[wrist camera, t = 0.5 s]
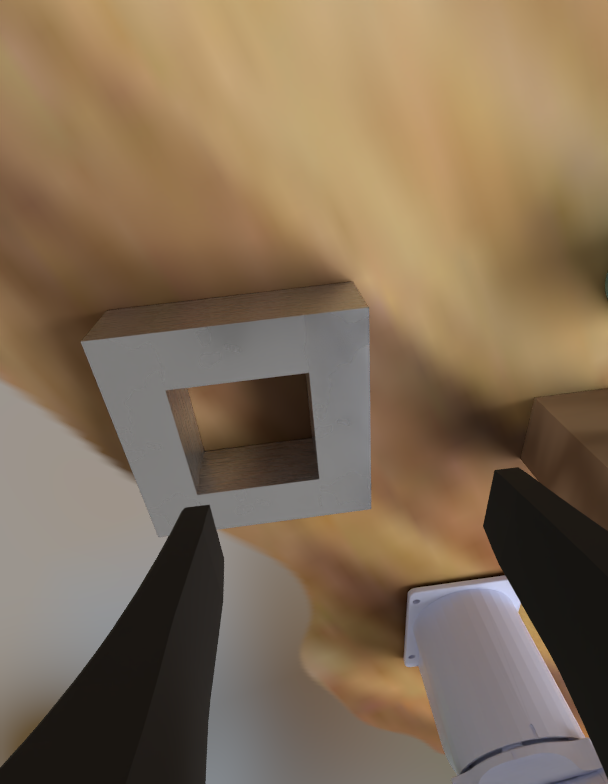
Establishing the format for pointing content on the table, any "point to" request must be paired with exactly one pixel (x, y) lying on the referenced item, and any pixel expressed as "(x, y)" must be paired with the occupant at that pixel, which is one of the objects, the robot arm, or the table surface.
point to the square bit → (571, 449)
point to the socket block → (232, 364)
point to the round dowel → (606, 286)
